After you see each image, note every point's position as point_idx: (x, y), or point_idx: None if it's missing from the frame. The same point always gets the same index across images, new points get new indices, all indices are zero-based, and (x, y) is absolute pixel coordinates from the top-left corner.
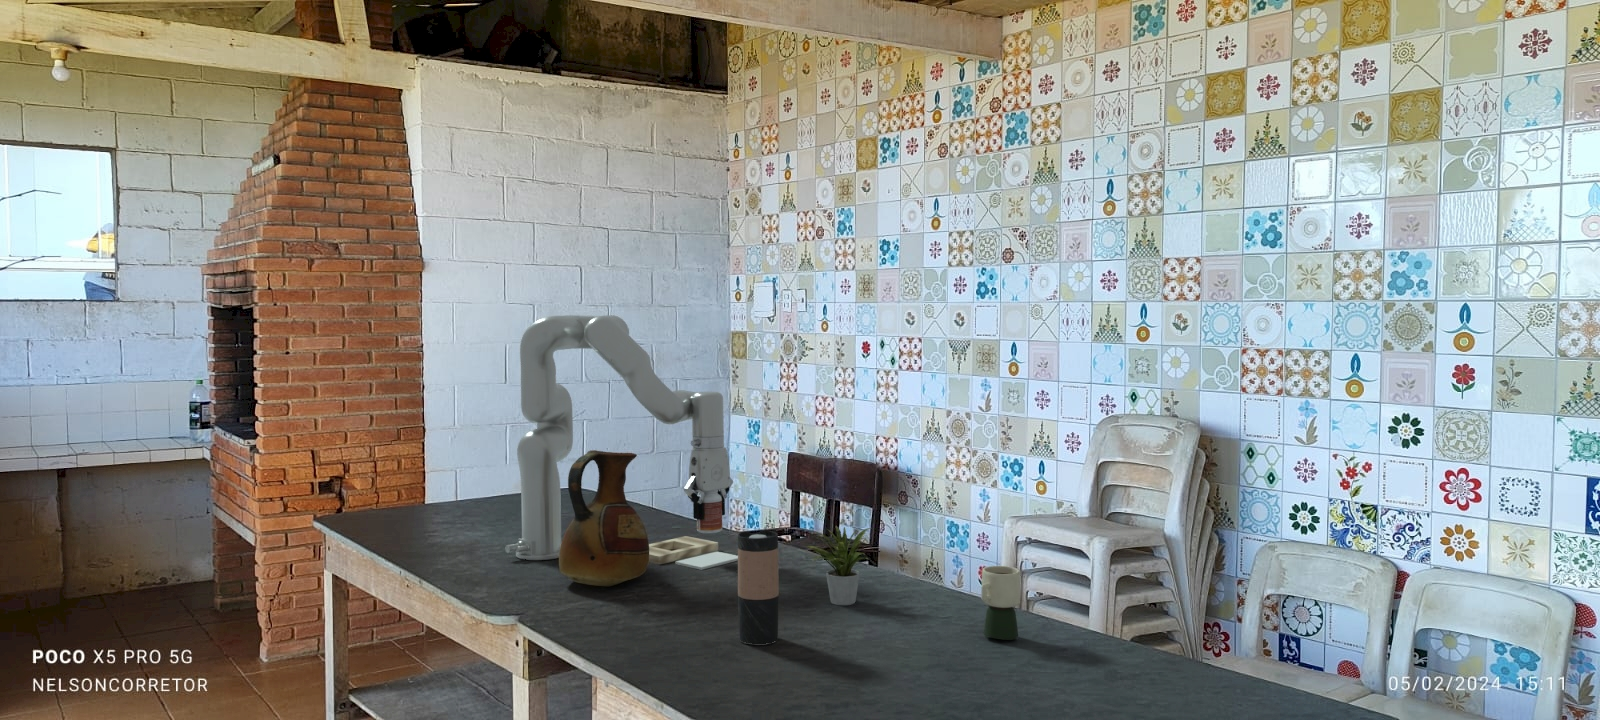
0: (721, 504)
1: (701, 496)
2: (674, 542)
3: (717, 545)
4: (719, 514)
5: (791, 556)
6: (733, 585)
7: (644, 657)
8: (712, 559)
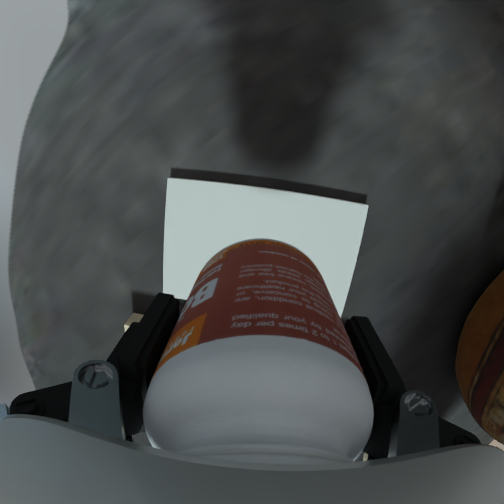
0: (206, 321)
1: (421, 435)
2: None
3: (130, 320)
4: (259, 274)
5: (70, 89)
6: (439, 38)
7: None
8: None
